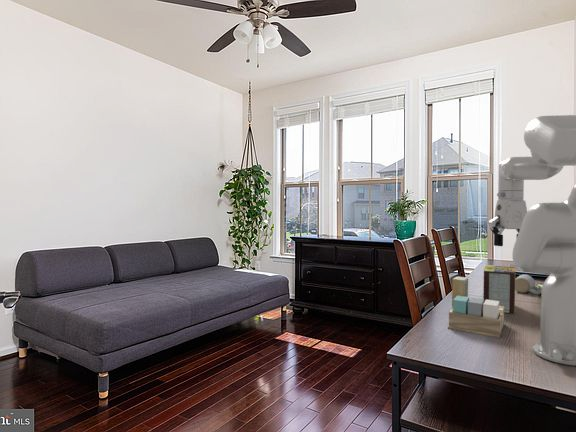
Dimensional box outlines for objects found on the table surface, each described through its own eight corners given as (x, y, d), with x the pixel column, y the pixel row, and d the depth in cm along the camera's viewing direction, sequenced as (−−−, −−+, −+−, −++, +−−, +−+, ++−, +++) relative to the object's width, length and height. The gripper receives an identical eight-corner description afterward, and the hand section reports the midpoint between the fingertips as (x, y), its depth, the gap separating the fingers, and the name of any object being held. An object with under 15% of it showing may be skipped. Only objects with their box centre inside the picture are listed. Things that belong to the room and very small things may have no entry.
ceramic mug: (511, 291, 170) (512, 275, 170) (516, 289, 176) (517, 273, 176) (538, 296, 163) (539, 279, 162) (542, 293, 168) (543, 276, 168)
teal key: (465, 316, 118) (465, 301, 117) (452, 314, 120) (453, 299, 120) (469, 311, 123) (469, 297, 123) (456, 309, 125) (457, 295, 125)
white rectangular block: (496, 322, 113) (497, 306, 112) (483, 319, 115) (483, 304, 115) (499, 316, 118) (499, 301, 118) (485, 314, 120) (486, 299, 120)
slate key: (480, 319, 115) (481, 303, 115) (467, 317, 117) (467, 301, 117) (483, 314, 121) (484, 299, 121) (470, 312, 123) (471, 297, 123)
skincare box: (456, 306, 144) (456, 276, 144) (468, 308, 141) (468, 277, 141) (451, 310, 139) (452, 278, 139) (463, 312, 136) (464, 280, 136)
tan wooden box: (499, 337, 110) (500, 317, 110) (447, 328, 118) (448, 309, 118) (503, 323, 123) (504, 305, 123) (456, 316, 132) (457, 298, 131)
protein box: (513, 305, 147) (514, 266, 147) (514, 314, 134) (515, 272, 134) (484, 301, 153) (485, 264, 152) (482, 310, 139) (483, 270, 139)
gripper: (499, 195, 121) (498, 247, 121) (540, 196, 125) (539, 246, 125) (481, 196, 128) (480, 245, 128) (521, 197, 132) (520, 244, 133)
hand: (509, 245), depth 127 cm, fingers open, 9 cm apart
